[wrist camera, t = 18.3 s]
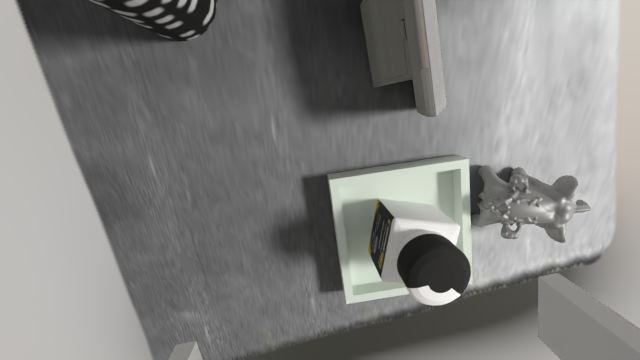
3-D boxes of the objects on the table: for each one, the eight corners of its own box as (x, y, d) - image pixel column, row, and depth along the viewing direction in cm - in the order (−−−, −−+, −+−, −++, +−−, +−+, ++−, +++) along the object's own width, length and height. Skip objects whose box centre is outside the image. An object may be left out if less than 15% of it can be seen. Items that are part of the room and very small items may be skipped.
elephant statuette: (458, 170, 39) (491, 187, 32) (554, 141, 38) (611, 152, 31) (471, 234, 42) (505, 265, 34) (562, 208, 41) (617, 234, 33)
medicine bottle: (376, 197, 38) (410, 238, 26) (433, 204, 39) (490, 247, 27) (367, 251, 39) (394, 312, 28) (421, 256, 40) (470, 319, 28)
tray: (327, 174, 38) (329, 180, 35) (456, 154, 38) (469, 158, 35) (343, 290, 42) (346, 304, 39) (460, 271, 42) (472, 283, 39)
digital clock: (433, 113, 37) (484, 116, 27) (357, 114, 37) (379, 118, 26) (444, -43, 33) (508, -109, 23) (360, -44, 33) (387, -113, 22)
